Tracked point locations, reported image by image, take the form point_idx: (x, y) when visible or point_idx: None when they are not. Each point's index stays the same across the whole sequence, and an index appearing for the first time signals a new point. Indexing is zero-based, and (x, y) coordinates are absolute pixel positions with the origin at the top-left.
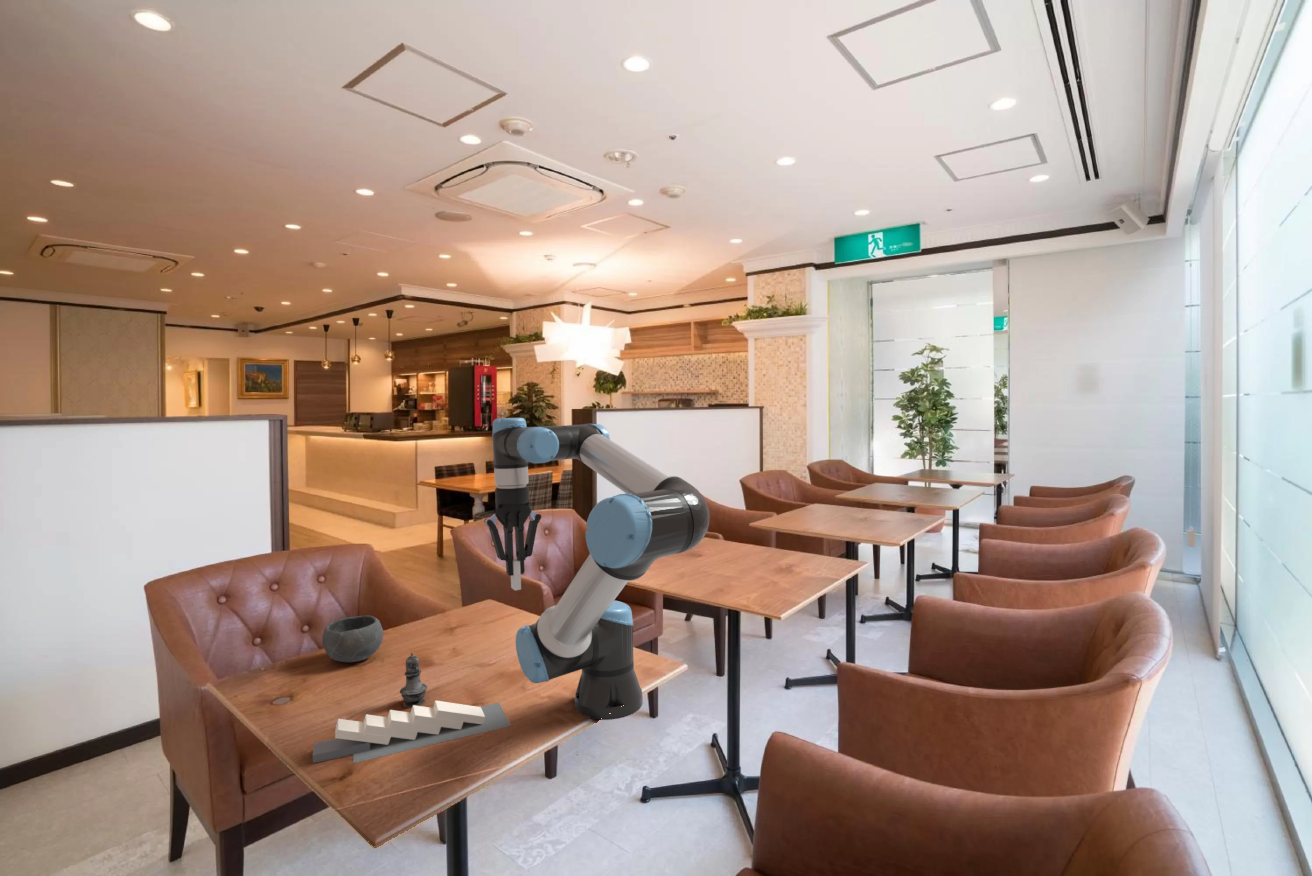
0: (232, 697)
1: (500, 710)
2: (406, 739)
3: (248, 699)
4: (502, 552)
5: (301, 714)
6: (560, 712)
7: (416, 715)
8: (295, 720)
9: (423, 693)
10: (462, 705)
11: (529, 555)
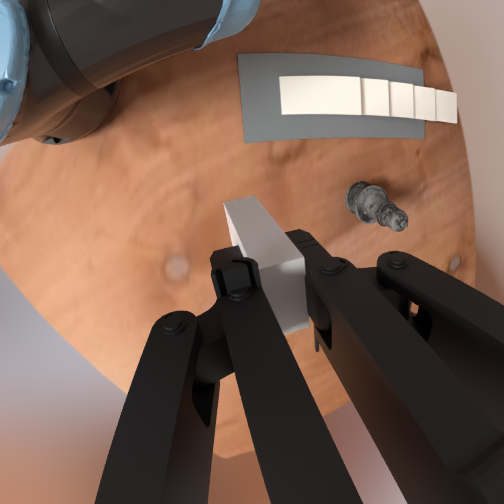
0: (473, 281)
1: (246, 112)
2: None
3: (468, 274)
4: (426, 281)
5: (450, 222)
6: (148, 77)
7: (386, 80)
8: (455, 210)
9: (359, 192)
10: (315, 109)
11: (174, 313)
